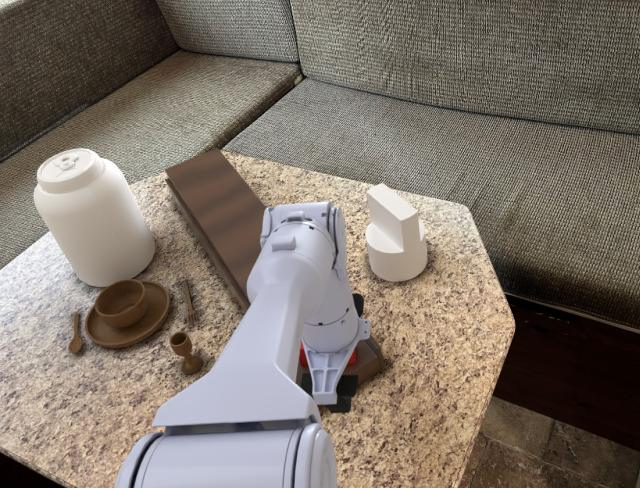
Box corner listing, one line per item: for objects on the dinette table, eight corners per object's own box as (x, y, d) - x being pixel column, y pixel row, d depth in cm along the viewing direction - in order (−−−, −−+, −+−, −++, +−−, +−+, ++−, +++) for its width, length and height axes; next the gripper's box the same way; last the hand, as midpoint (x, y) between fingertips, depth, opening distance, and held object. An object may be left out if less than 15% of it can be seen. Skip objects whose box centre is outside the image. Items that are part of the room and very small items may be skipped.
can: (73, 253, 101) (16, 157, 89) (148, 224, 106) (104, 128, 93) (83, 301, 93) (21, 202, 80) (165, 267, 97) (118, 168, 84)
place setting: (187, 271, 96) (175, 244, 92) (208, 368, 81) (195, 341, 78) (70, 311, 91) (53, 285, 88) (70, 422, 77) (50, 395, 73)
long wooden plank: (384, 368, 79) (379, 337, 75) (309, 416, 75) (299, 386, 71) (230, 174, 115) (220, 146, 111) (172, 198, 111) (161, 170, 107)
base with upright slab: (358, 258, 95) (348, 199, 87) (404, 231, 99) (398, 173, 91) (392, 291, 89) (384, 231, 82) (439, 261, 93) (435, 202, 85)
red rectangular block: (300, 366, 77) (295, 349, 75) (303, 347, 79) (298, 330, 77) (355, 364, 76) (351, 347, 74) (357, 345, 78) (353, 328, 76)
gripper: (359, 366, 53) (376, 440, 62) (368, 244, 64) (381, 322, 73) (280, 368, 53) (308, 441, 62) (302, 247, 64) (323, 324, 73)
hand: (343, 377), depth 68 cm, fingers open, 7 cm apart
